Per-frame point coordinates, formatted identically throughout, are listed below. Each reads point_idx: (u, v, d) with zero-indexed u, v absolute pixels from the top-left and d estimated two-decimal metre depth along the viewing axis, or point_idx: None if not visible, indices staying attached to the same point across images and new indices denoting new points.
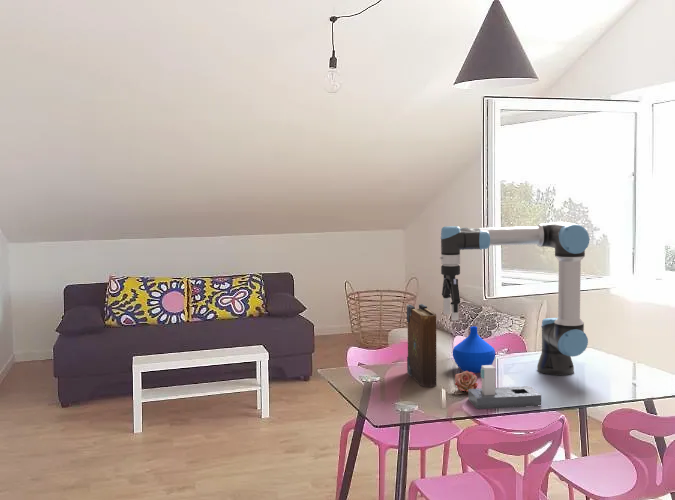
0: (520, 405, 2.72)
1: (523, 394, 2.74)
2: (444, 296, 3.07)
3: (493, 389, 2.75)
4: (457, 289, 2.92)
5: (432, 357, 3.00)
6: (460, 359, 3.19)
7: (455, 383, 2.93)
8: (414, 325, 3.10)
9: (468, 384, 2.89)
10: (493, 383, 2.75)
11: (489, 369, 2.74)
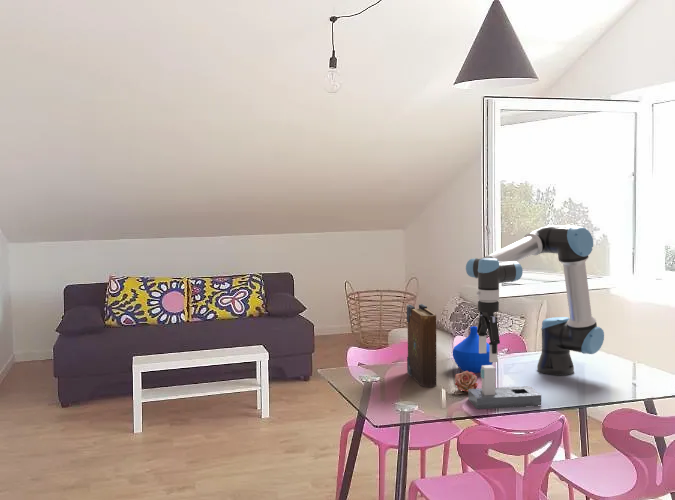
0: (520, 405, 2.72)
1: (523, 394, 2.74)
2: (480, 334, 2.81)
3: (493, 389, 2.75)
4: (496, 328, 2.67)
5: (432, 357, 3.00)
6: (460, 359, 3.19)
7: (455, 383, 2.93)
8: (414, 325, 3.10)
9: (468, 384, 2.89)
10: (493, 383, 2.75)
11: (489, 369, 2.74)
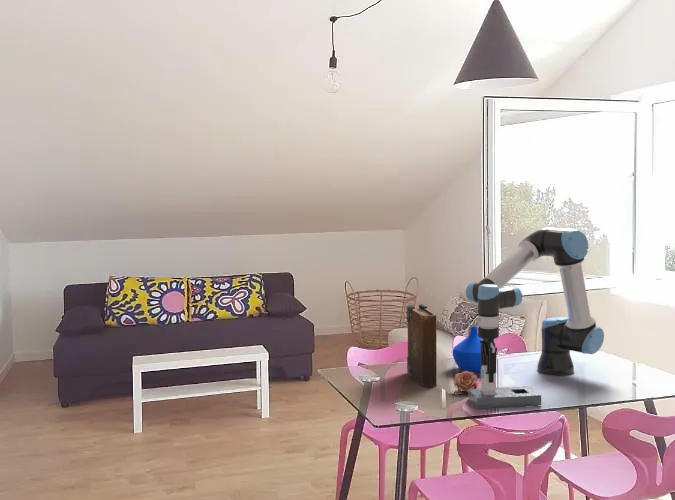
0: (520, 405, 2.72)
1: (523, 394, 2.74)
2: None
3: None
4: (495, 359, 2.70)
5: (432, 357, 3.00)
6: (460, 359, 3.19)
7: (455, 383, 2.93)
8: (414, 325, 3.10)
9: (468, 384, 2.89)
10: None
11: None
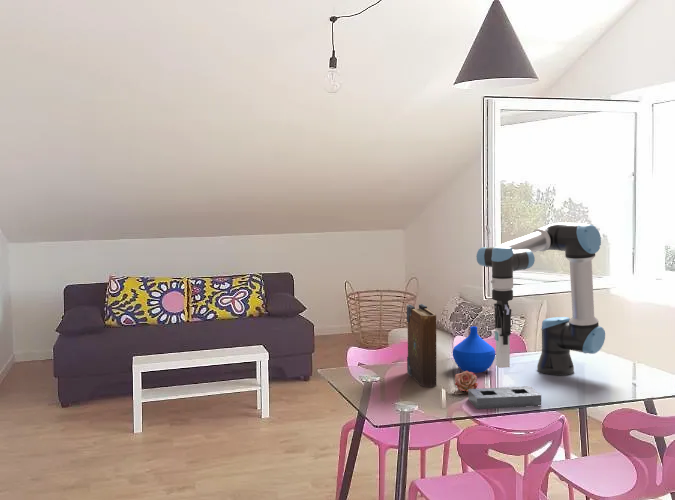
0: (520, 405, 2.72)
1: (523, 394, 2.74)
2: None
3: None
4: (509, 320, 2.69)
5: (432, 357, 3.00)
6: (460, 359, 3.19)
7: (455, 383, 2.93)
8: (414, 325, 3.10)
9: (468, 384, 2.89)
10: None
11: None
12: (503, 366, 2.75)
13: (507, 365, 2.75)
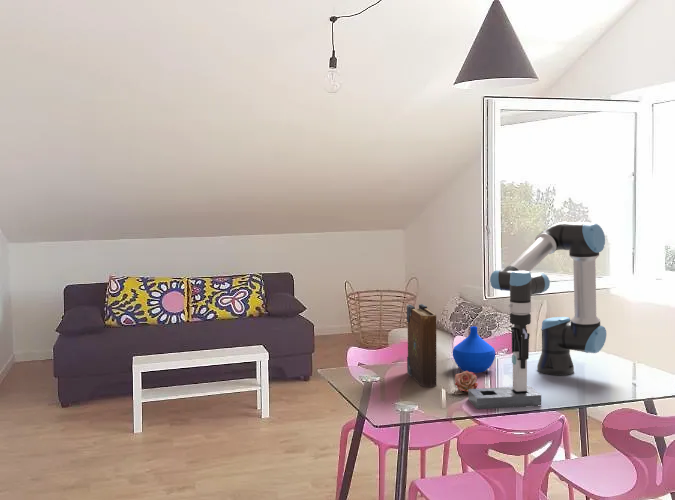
0: (520, 405, 2.72)
1: (523, 394, 2.74)
2: None
3: None
4: (527, 345, 2.71)
5: (432, 357, 3.00)
6: (460, 359, 3.19)
7: (455, 383, 2.93)
8: (414, 325, 3.10)
9: (468, 384, 2.89)
10: None
11: None
12: (520, 390, 2.76)
13: (524, 389, 2.76)
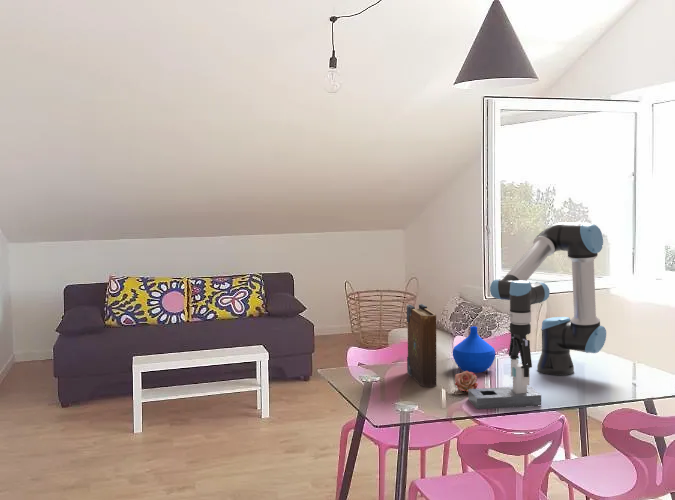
0: (520, 405, 2.72)
1: (523, 394, 2.74)
2: (512, 357, 2.83)
3: (525, 387, 2.76)
4: (529, 352, 2.69)
5: (432, 357, 3.00)
6: (460, 359, 3.19)
7: (455, 383, 2.93)
8: (414, 325, 3.10)
9: (468, 384, 2.89)
10: None
11: (521, 368, 2.75)
12: None
13: None
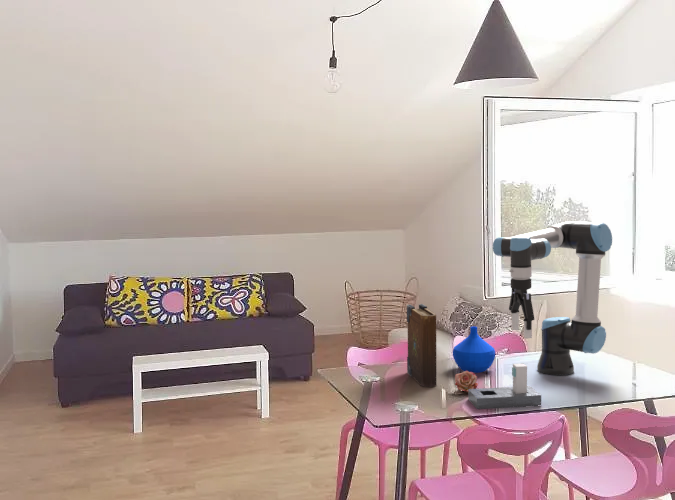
0: (520, 405, 2.72)
1: (523, 394, 2.74)
2: (512, 311, 2.86)
3: (525, 387, 2.76)
4: (530, 305, 2.71)
5: (432, 357, 3.00)
6: (460, 359, 3.19)
7: (455, 383, 2.93)
8: (414, 325, 3.10)
9: (468, 384, 2.89)
10: (525, 381, 2.76)
11: (521, 368, 2.75)
12: None
13: None
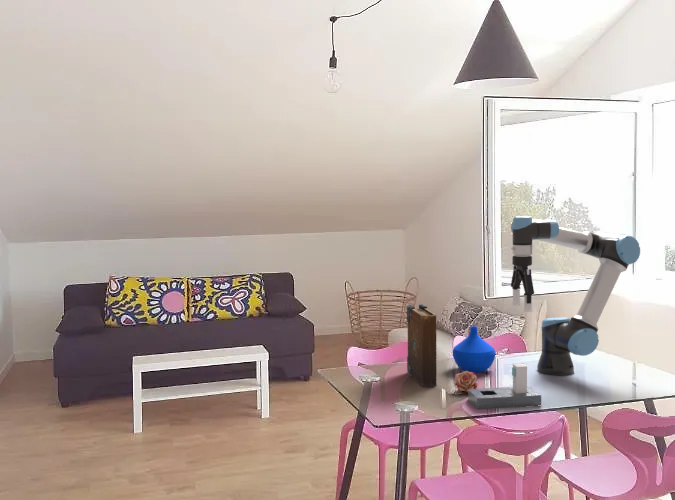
0: (520, 405, 2.72)
1: (523, 394, 2.74)
2: (514, 287, 3.03)
3: (525, 387, 2.76)
4: (530, 280, 2.88)
5: (432, 357, 3.00)
6: (460, 359, 3.19)
7: (455, 383, 2.93)
8: (414, 325, 3.10)
9: (468, 384, 2.89)
10: (525, 381, 2.76)
11: (521, 368, 2.75)
12: None
13: None
